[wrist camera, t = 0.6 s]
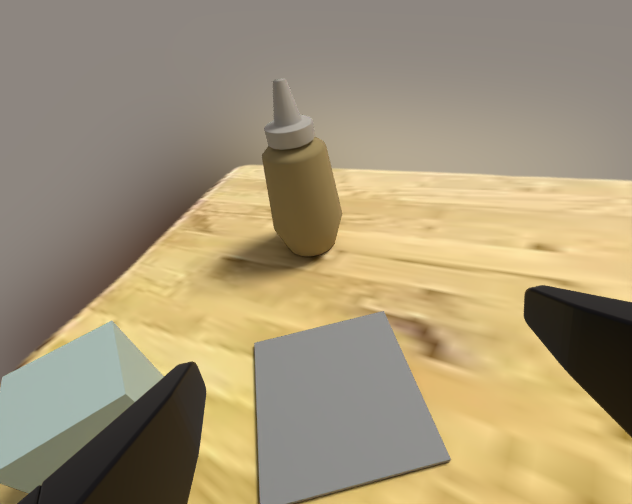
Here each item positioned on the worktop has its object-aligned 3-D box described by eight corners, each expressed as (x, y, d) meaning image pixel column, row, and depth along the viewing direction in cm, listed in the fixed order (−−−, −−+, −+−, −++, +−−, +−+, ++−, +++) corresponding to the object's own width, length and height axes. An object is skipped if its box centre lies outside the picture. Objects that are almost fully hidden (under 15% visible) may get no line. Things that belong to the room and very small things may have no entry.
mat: (449, 461, 20) (450, 459, 19) (261, 512, 19) (260, 510, 19) (383, 313, 29) (383, 311, 29) (255, 345, 28) (254, 343, 28)
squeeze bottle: (272, 235, 41) (226, 84, 29) (329, 215, 42) (306, 64, 31) (291, 273, 35) (243, 101, 23) (356, 248, 36) (341, 75, 25)
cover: (198, 456, 22) (125, 393, 16) (108, 521, 20) (-15, 478, 14) (176, 390, 26) (112, 320, 20) (100, 438, 24) (2, 376, 18)
